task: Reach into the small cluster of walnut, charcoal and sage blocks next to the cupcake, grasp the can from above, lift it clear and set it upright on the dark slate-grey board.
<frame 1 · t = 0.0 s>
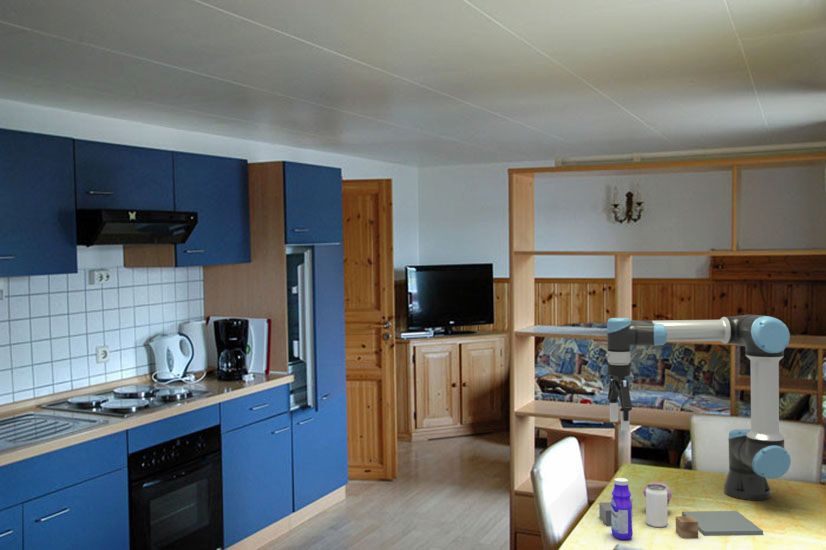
hand: (619, 426, 245), 28 cm above the table, tool pointing down, fingers open, 13 cm apart
board: (721, 524, 229), on the table
cupcake: (657, 512, 241), on the table
can: (656, 524, 230), on the table
walnut block: (686, 535, 220), on the table
charcoal block: (608, 521, 233), on the table
sage block: (622, 514, 240), on the table
bottle: (621, 537, 220), on the table
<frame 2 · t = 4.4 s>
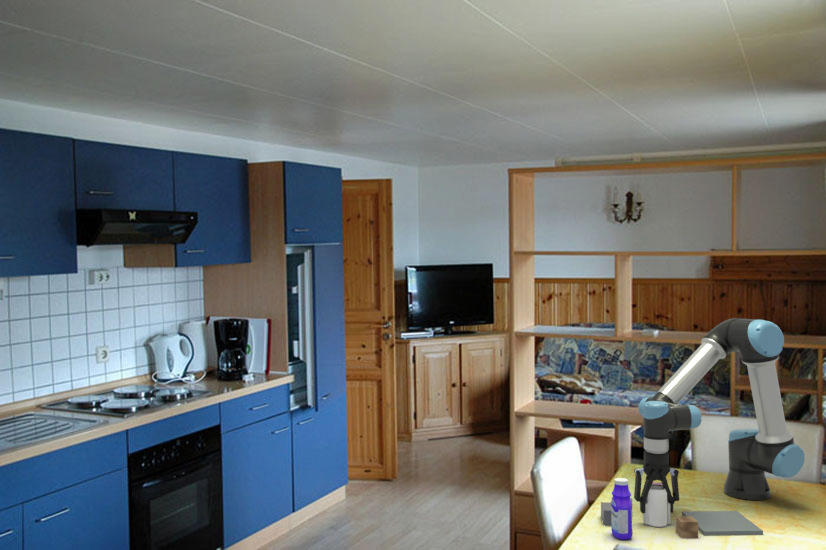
hand: (656, 522, 230), 0 cm above the table, tool pointing down, fingers closed on can, 6 cm apart
can: (656, 524, 230), on the table, touching gripper
everything else where it was.
when the fingers open (3 cm above the table, at t = 10.5 s): can drops 2 cm, resting on board.
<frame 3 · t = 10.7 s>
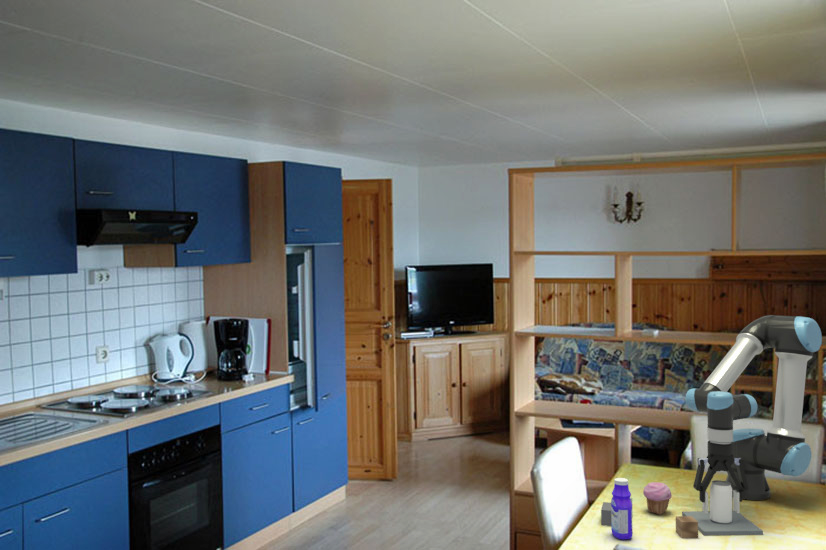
hand: (720, 511, 229), 4 cm above the table, tool pointing down, fingers open, 9 cm apart
can: (720, 521, 229), point 1 cm above the table, touching board
everything else where it was.
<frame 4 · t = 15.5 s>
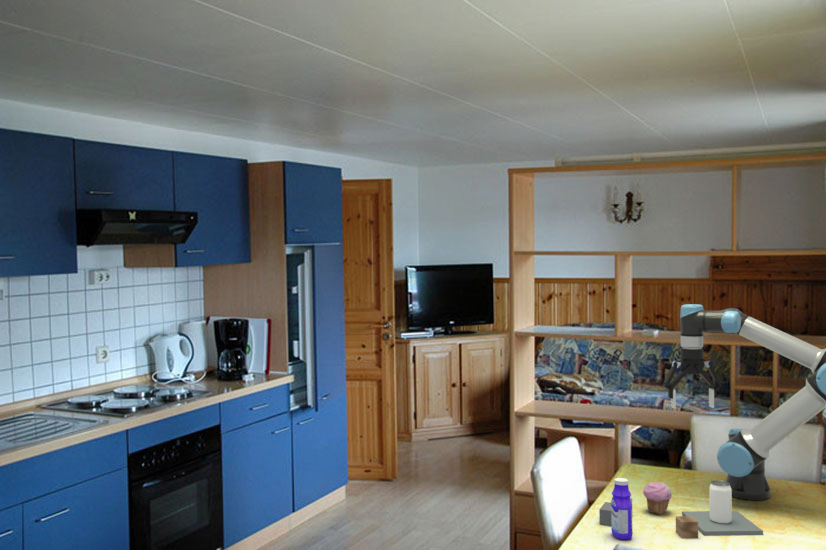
hand: (692, 407, 256), 32 cm above the table, tool pointing down, fingers open, 13 cm apart
at the end: can inside the target area on the board (0.1 cm from its centre), point 1.0 cm above the board's base; can tilted 0°; the gripper is holding nothing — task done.
